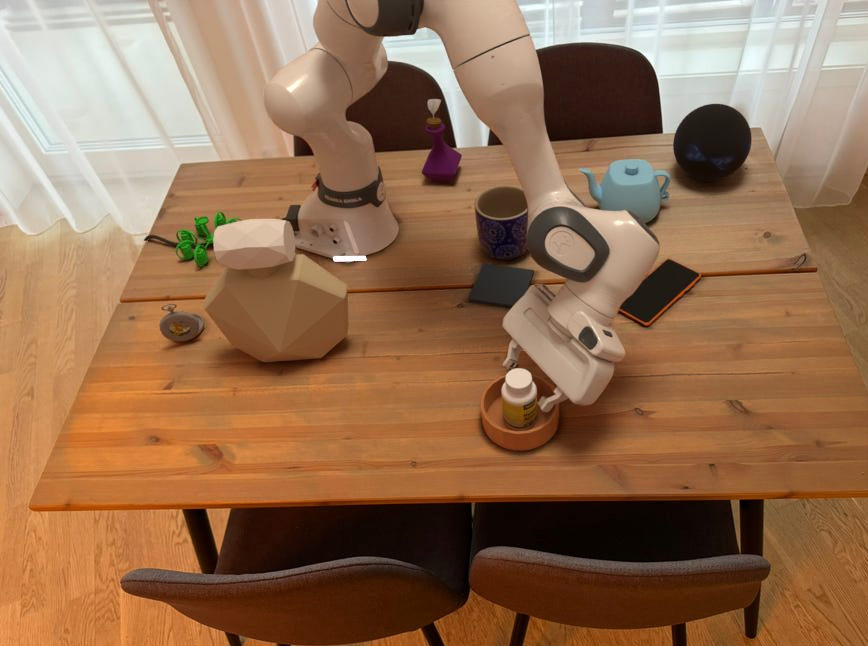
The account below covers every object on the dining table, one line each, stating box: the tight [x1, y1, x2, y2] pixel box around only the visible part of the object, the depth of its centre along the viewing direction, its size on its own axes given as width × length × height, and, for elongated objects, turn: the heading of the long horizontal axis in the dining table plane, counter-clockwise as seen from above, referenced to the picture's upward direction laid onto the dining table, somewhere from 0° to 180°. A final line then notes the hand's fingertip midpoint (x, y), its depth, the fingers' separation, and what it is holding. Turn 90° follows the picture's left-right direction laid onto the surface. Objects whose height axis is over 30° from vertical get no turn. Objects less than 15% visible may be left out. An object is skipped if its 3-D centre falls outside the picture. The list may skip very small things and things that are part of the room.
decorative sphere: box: [672, 103, 753, 182], centre depth 151 cm, size 15×15×15 cm
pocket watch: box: [159, 303, 205, 342], centre depth 135 cm, size 7×8×10 cm
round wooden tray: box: [480, 372, 560, 452], centre depth 117 cm, size 12×12×4 cm
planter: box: [474, 184, 528, 261], centre depth 142 cm, size 11×11×11 cm
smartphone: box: [618, 258, 702, 327], centre depth 134 cm, size 8×17×1 cm, turn 135°
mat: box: [467, 263, 535, 309], centre depth 139 cm, size 10×10×1 cm
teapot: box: [578, 158, 671, 224], centre depth 147 cm, size 13×11×18 cm
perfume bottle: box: [421, 98, 463, 183], centre depth 158 cm, size 8×8×18 cm
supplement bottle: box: [501, 367, 537, 430], centre depth 114 cm, size 5×5×10 cm
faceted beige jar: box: [202, 218, 349, 363], centre depth 123 cm, size 12×24×28 cm, turn 91°
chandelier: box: [175, 211, 243, 267], centre depth 153 cm, size 15×15×7 cm
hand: (524, 388), depth 113 cm, fingers open, 8 cm apart
